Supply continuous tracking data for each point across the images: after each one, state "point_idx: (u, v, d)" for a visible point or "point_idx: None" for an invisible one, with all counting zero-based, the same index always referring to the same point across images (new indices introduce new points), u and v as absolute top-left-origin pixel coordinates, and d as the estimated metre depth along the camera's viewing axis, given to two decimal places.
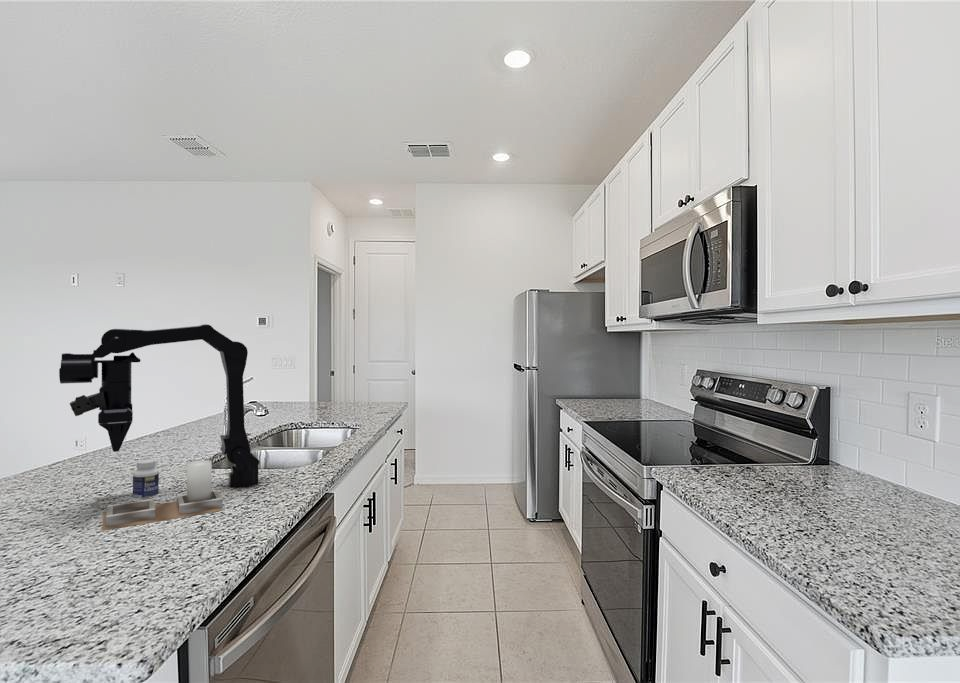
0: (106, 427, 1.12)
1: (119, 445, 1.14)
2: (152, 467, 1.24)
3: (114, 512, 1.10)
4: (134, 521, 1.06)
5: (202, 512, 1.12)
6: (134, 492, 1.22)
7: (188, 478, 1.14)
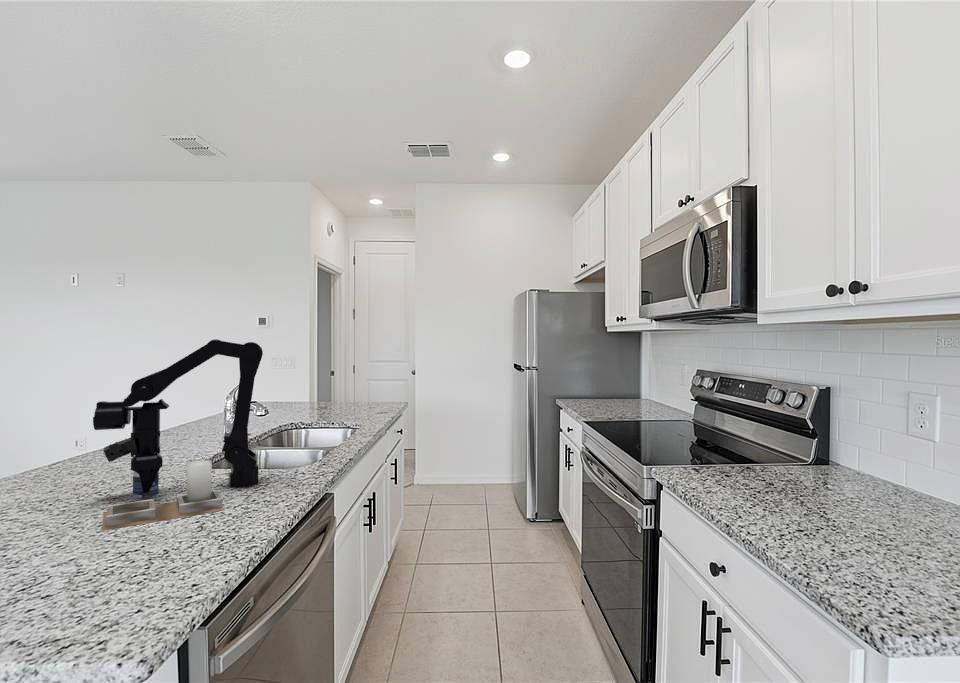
0: (138, 471, 1.20)
1: (149, 487, 1.22)
2: None
3: (114, 512, 1.10)
4: (134, 521, 1.06)
5: (202, 512, 1.12)
6: (134, 492, 1.22)
7: (188, 478, 1.14)
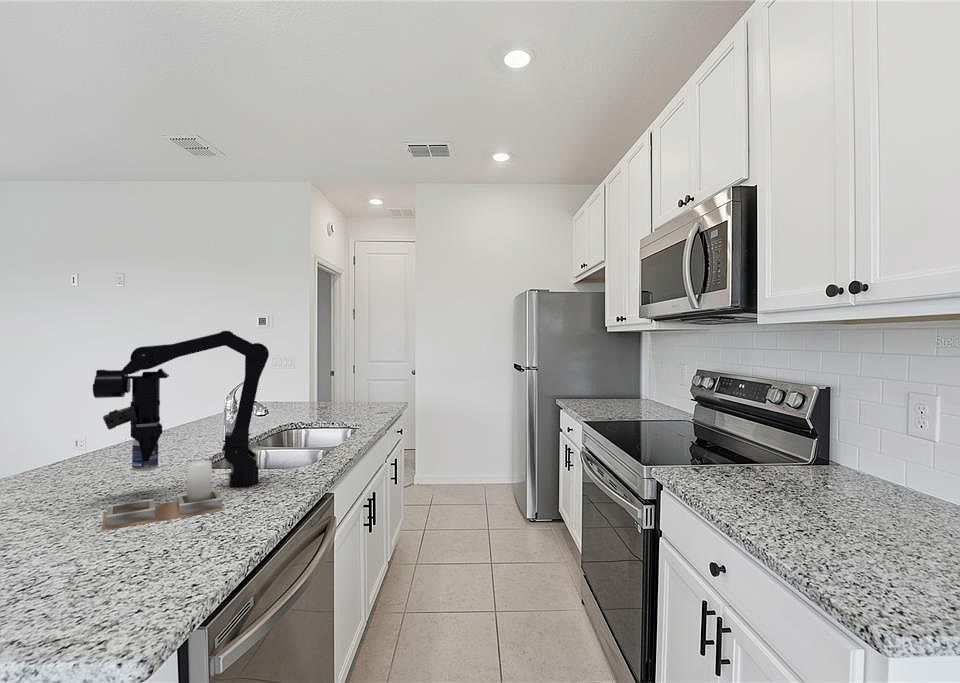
0: (137, 439, 1.20)
1: (149, 455, 1.22)
2: None
3: (114, 512, 1.10)
4: (134, 521, 1.06)
5: (202, 512, 1.12)
6: (134, 461, 1.22)
7: (188, 478, 1.14)
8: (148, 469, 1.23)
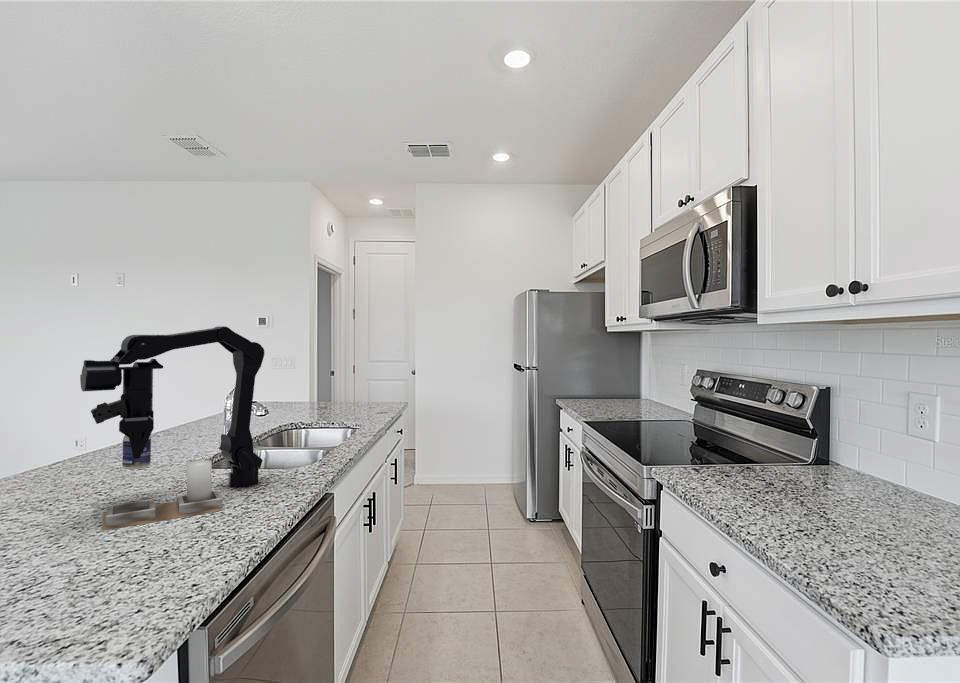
0: (127, 434, 1.11)
1: (140, 452, 1.13)
2: None
3: (114, 512, 1.10)
4: (134, 521, 1.06)
5: (202, 512, 1.12)
6: (124, 458, 1.13)
7: (188, 478, 1.14)
8: (139, 467, 1.14)
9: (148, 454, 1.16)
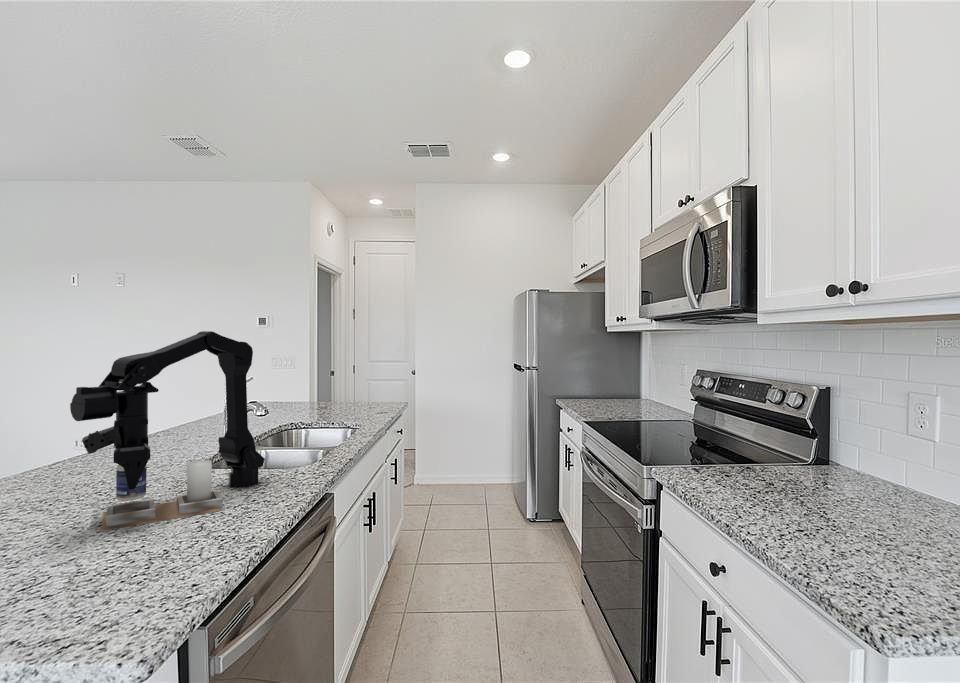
0: (122, 464, 1.04)
1: (135, 482, 1.07)
2: None
3: (114, 512, 1.10)
4: (134, 521, 1.06)
5: (202, 512, 1.12)
6: (118, 488, 1.07)
7: (188, 478, 1.14)
8: (134, 498, 1.07)
9: (144, 483, 1.09)
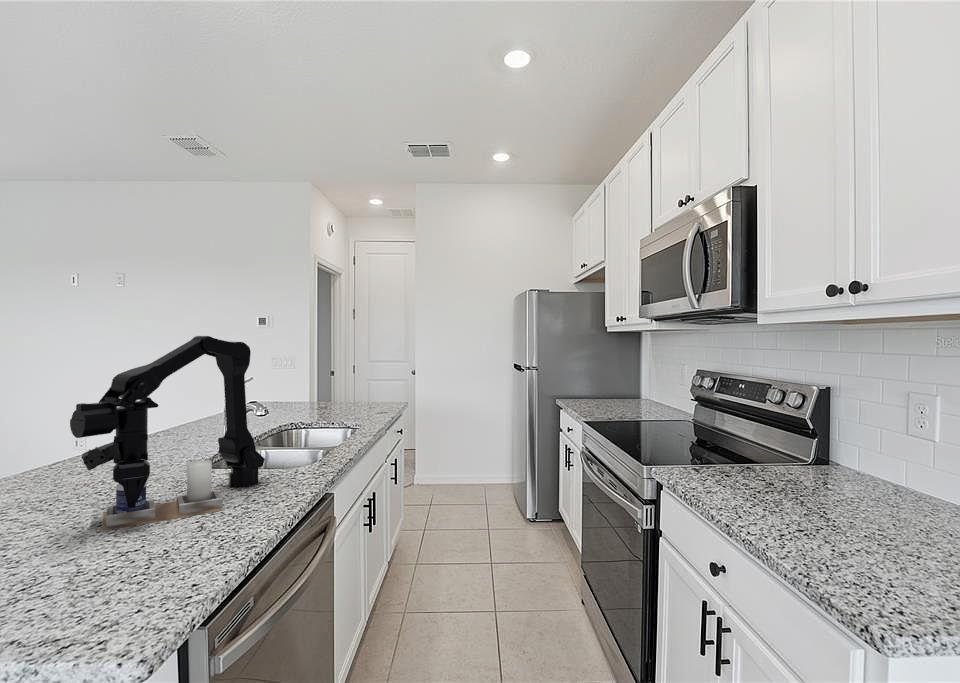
0: (121, 482, 1.03)
1: (135, 501, 1.05)
2: None
3: (114, 512, 1.10)
4: (134, 521, 1.06)
5: (202, 512, 1.12)
6: (118, 508, 1.07)
7: (188, 478, 1.14)
8: None
9: (143, 503, 1.09)
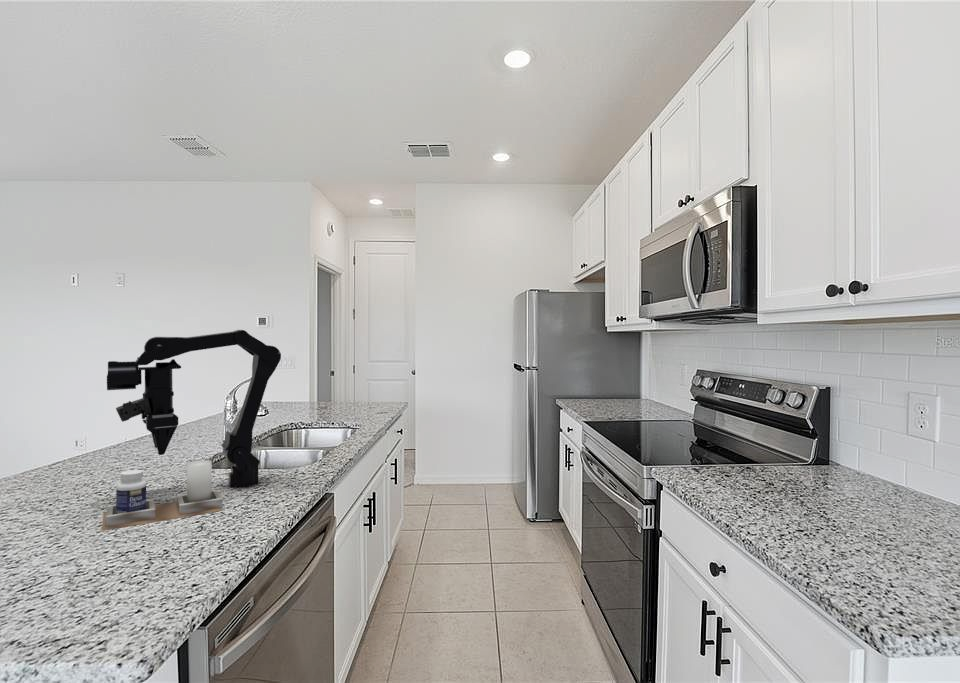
0: (153, 431, 1.16)
1: (164, 448, 1.19)
2: (139, 479, 1.09)
3: (114, 512, 1.10)
4: (134, 521, 1.06)
5: (202, 512, 1.12)
6: (118, 508, 1.07)
7: (188, 478, 1.14)
8: None
9: (143, 503, 1.09)
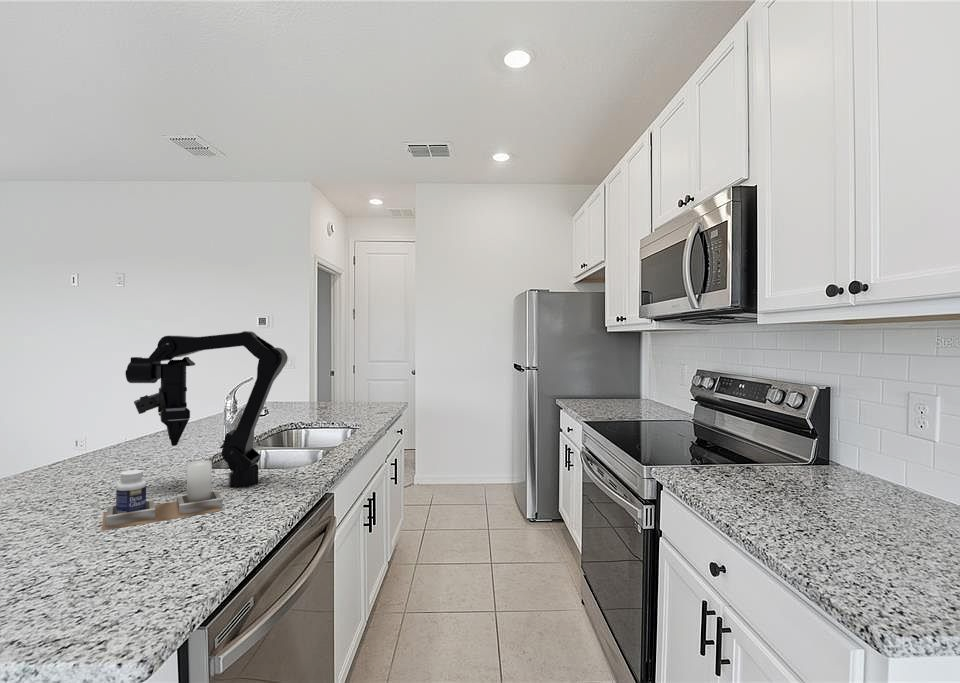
0: (167, 424, 1.25)
1: (177, 440, 1.27)
2: (139, 479, 1.09)
3: (114, 512, 1.10)
4: (134, 521, 1.06)
5: (202, 512, 1.12)
6: (118, 508, 1.07)
7: (188, 478, 1.14)
8: None
9: (143, 503, 1.09)
